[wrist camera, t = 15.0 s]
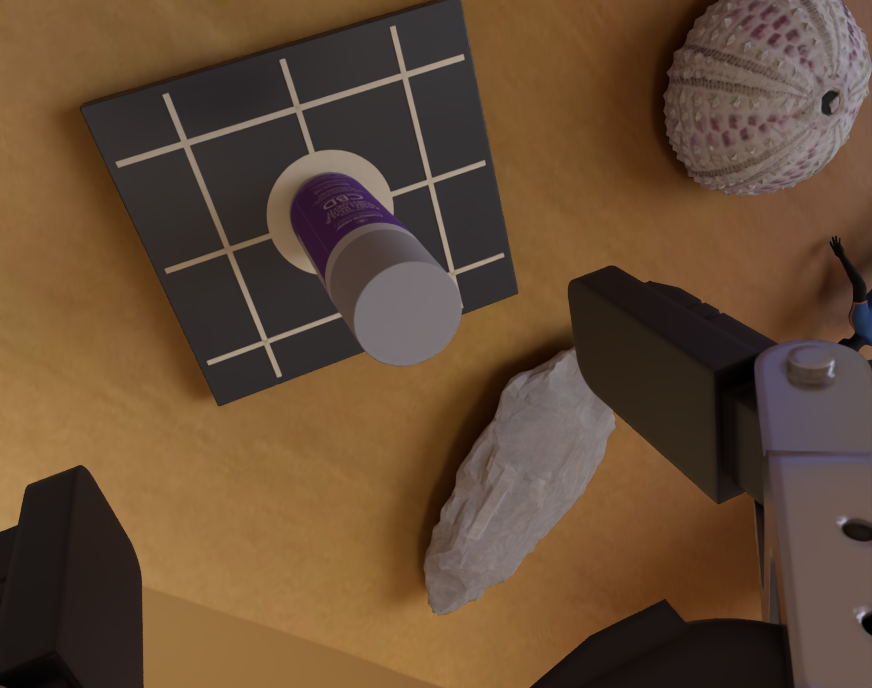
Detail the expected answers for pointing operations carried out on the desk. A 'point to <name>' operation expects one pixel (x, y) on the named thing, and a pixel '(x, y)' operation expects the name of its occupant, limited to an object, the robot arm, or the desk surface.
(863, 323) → the person figurine
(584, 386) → the stone tool
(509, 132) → the desk surface
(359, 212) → the container
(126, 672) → the robot arm
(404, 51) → the board
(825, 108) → the sea urchin shell
